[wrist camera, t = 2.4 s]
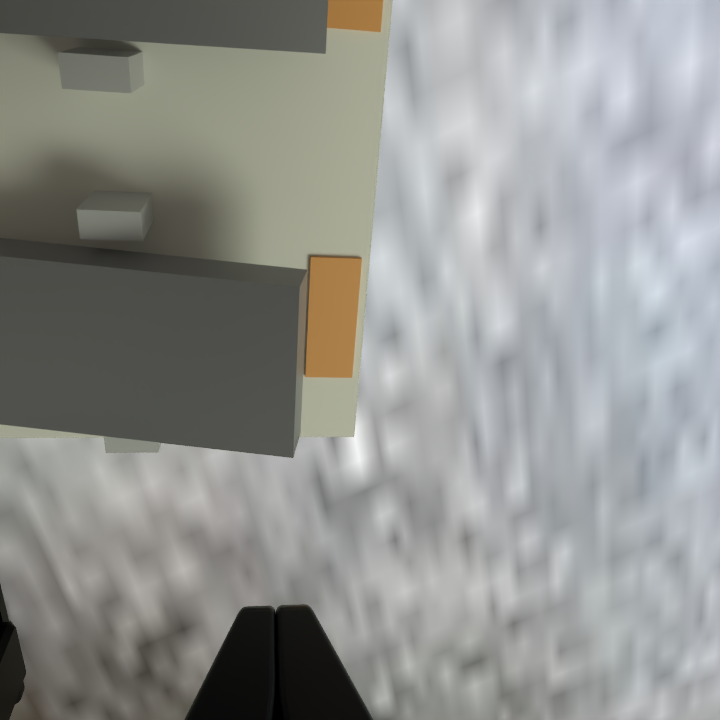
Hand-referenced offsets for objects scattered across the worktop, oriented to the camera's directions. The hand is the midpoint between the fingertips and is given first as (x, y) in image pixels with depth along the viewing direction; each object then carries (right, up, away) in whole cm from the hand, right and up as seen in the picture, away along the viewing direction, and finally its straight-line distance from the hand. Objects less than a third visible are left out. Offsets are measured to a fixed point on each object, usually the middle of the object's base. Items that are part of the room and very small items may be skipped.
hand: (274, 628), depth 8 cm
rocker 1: (-4, +4, +6) cm, 9 cm away
